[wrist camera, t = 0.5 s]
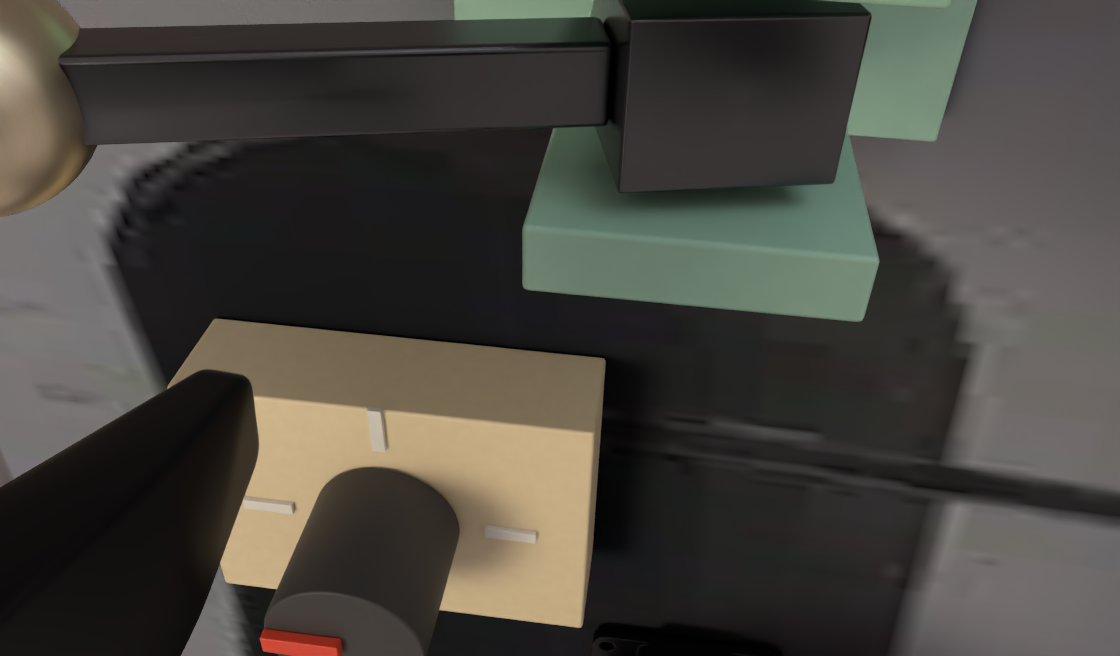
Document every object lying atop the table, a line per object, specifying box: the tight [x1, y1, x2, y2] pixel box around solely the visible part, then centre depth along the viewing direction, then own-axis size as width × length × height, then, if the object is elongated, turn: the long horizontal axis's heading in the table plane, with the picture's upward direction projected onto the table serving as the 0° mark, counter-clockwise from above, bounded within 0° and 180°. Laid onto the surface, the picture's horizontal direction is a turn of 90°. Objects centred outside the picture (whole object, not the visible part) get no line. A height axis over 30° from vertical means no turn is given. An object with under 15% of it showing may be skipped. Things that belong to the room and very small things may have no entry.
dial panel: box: [167, 319, 606, 628], centre depth 27 cm, size 11×8×3 cm
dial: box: [260, 468, 460, 656], centre depth 24 cm, size 4×4×4 cm
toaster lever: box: [0, 0, 872, 217], centre depth 12 cm, size 12×3×3 cm, turn 89°
